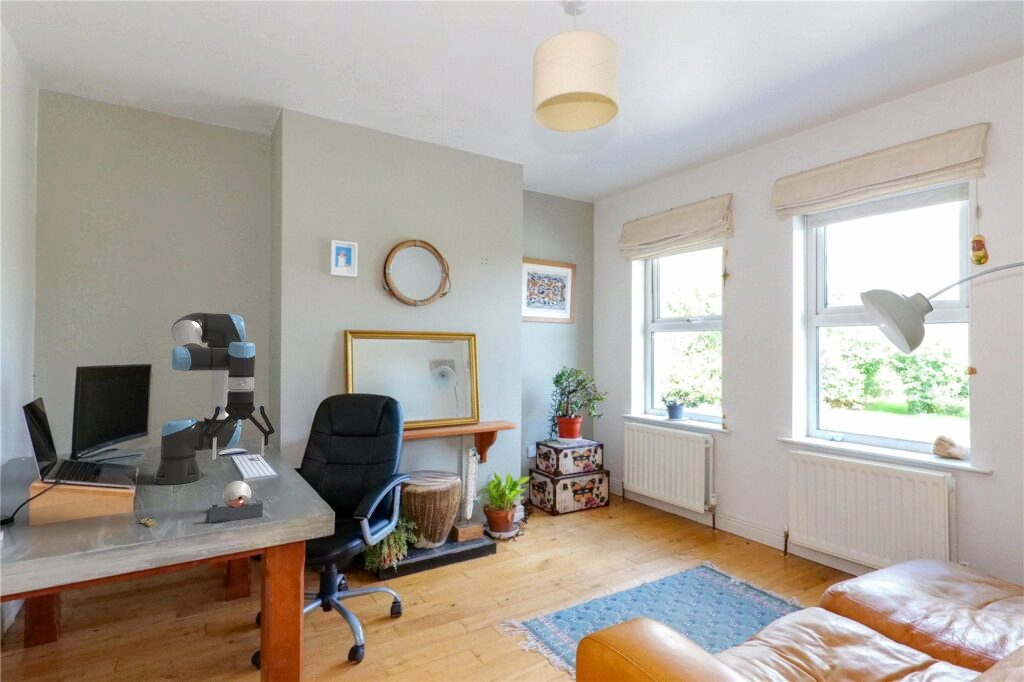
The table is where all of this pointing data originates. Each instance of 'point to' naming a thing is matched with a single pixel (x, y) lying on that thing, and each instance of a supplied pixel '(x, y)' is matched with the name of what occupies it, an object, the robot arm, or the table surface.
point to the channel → (236, 510)
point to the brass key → (148, 522)
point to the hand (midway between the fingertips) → (238, 457)
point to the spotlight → (236, 492)
